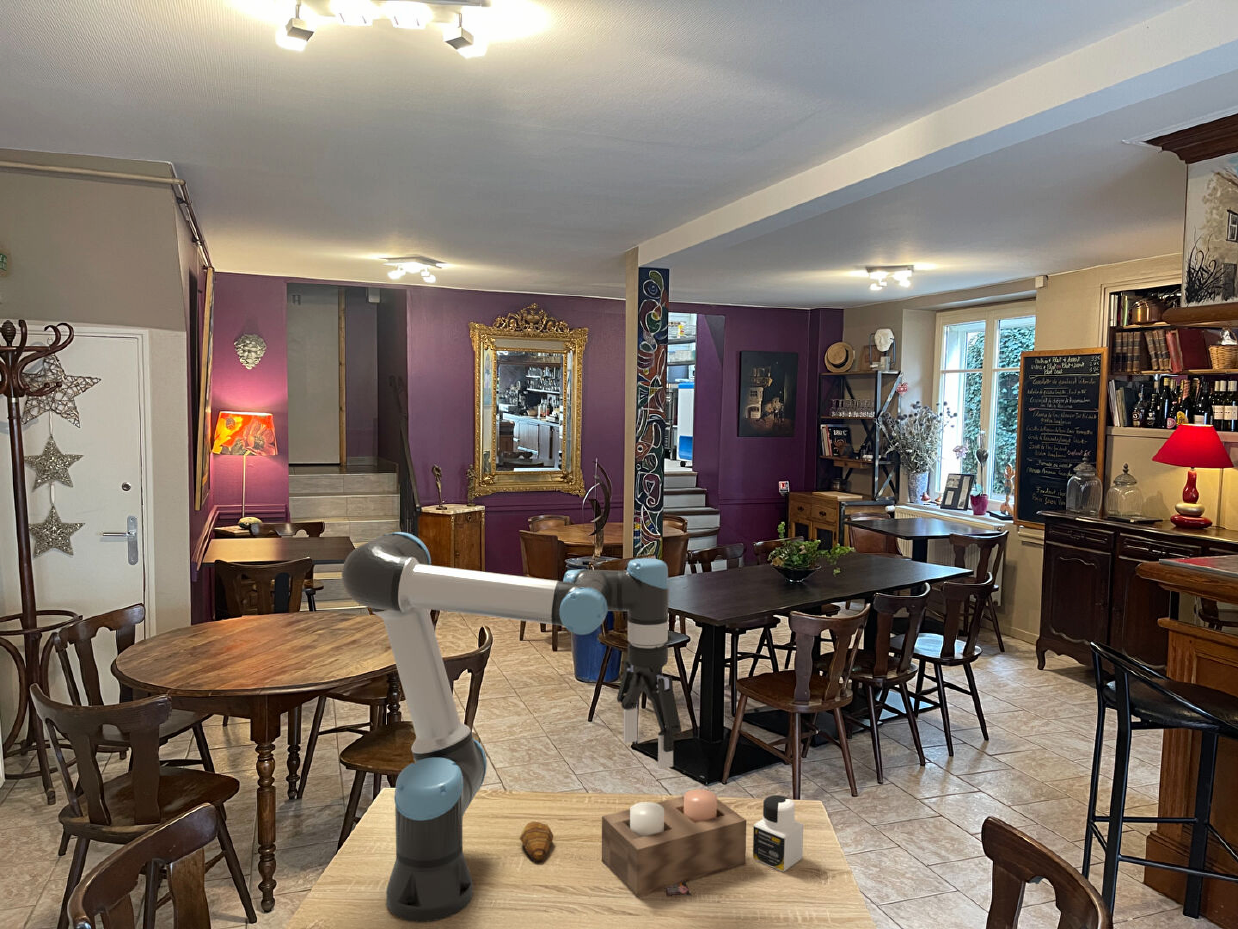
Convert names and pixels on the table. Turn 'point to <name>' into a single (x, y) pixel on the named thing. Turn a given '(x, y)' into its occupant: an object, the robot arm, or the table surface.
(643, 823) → the white egg in box
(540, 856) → the croissant
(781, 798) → the medicine bottle
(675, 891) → the chocolate bar
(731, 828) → the wooden egg holder
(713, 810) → the pink egg shaped ball
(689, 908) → the table surface
